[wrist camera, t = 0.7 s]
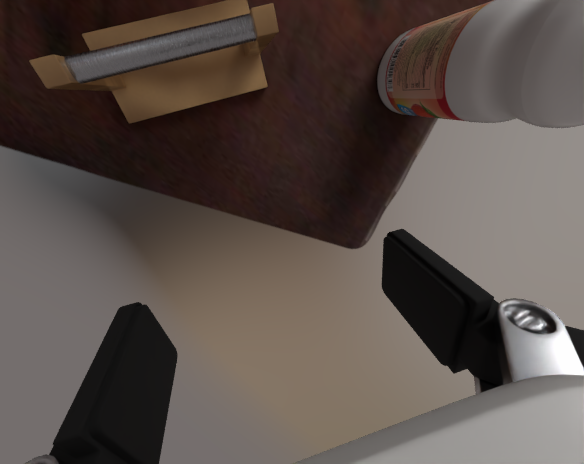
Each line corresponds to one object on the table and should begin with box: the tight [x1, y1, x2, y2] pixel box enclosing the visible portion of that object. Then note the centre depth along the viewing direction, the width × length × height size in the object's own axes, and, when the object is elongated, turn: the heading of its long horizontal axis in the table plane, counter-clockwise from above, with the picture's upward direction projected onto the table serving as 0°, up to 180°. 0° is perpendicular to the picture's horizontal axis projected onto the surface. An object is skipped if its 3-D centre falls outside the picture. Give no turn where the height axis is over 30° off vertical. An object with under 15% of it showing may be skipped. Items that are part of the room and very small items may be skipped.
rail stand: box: [29, 0, 279, 124], centre depth 22 cm, size 8×16×12 cm, turn 103°
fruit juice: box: [377, 0, 584, 128], centre depth 21 cm, size 9×9×28 cm
